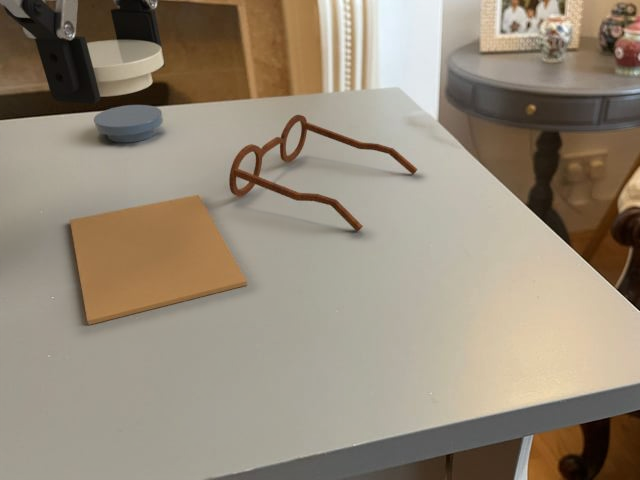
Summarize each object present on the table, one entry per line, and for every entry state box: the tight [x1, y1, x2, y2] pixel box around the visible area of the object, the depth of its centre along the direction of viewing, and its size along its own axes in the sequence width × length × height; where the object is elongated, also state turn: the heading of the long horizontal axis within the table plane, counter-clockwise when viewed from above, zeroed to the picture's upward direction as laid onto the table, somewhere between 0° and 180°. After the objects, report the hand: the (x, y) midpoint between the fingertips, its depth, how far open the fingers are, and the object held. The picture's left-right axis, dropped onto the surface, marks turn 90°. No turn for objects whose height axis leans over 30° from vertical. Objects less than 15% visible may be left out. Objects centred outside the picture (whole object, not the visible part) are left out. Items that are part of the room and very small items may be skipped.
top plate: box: [87, 39, 165, 98], centre depth 45 cm, size 7×7×2 cm
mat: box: [69, 194, 248, 326], centre depth 52 cm, size 16×11×1 cm
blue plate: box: [93, 104, 164, 144], centre depth 73 cm, size 7×7×2 cm
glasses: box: [228, 114, 418, 232], centre depth 60 cm, size 13×13×5 cm
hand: (112, 81), depth 45 cm, fingers closed on top plate, 7 cm apart
